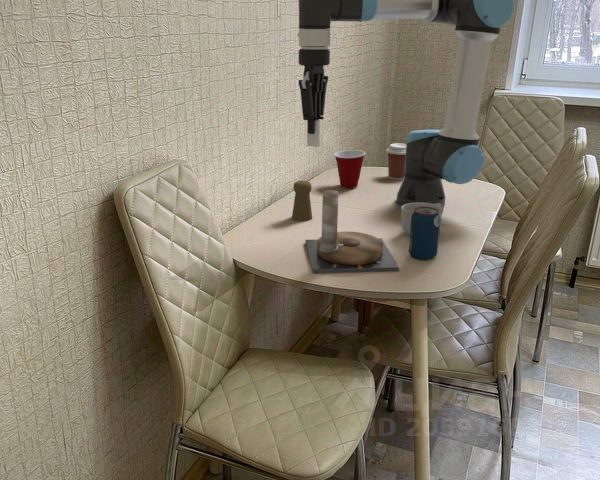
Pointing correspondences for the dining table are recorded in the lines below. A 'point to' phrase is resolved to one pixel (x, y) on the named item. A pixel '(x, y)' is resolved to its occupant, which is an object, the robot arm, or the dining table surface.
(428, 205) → the teacup
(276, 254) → the dining table surface
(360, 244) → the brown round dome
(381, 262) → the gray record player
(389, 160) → the coffee cup
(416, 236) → the soda can
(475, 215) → the dining table surface
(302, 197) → the cork
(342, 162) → the plastic cup
